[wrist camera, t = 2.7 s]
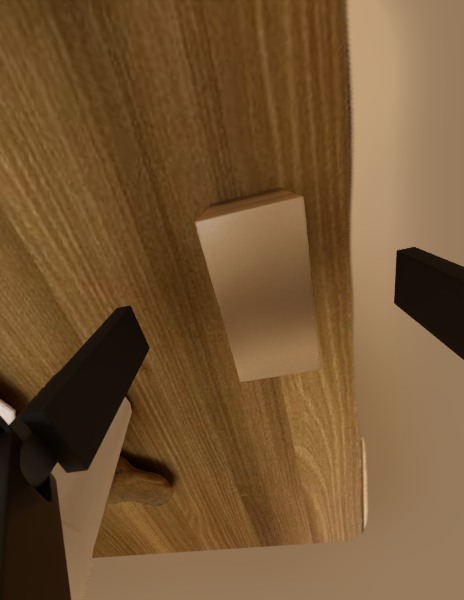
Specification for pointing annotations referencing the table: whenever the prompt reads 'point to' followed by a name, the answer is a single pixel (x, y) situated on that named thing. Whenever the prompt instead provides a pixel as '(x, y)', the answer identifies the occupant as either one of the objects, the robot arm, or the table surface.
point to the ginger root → (138, 486)
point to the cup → (88, 501)
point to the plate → (7, 412)
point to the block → (263, 282)
